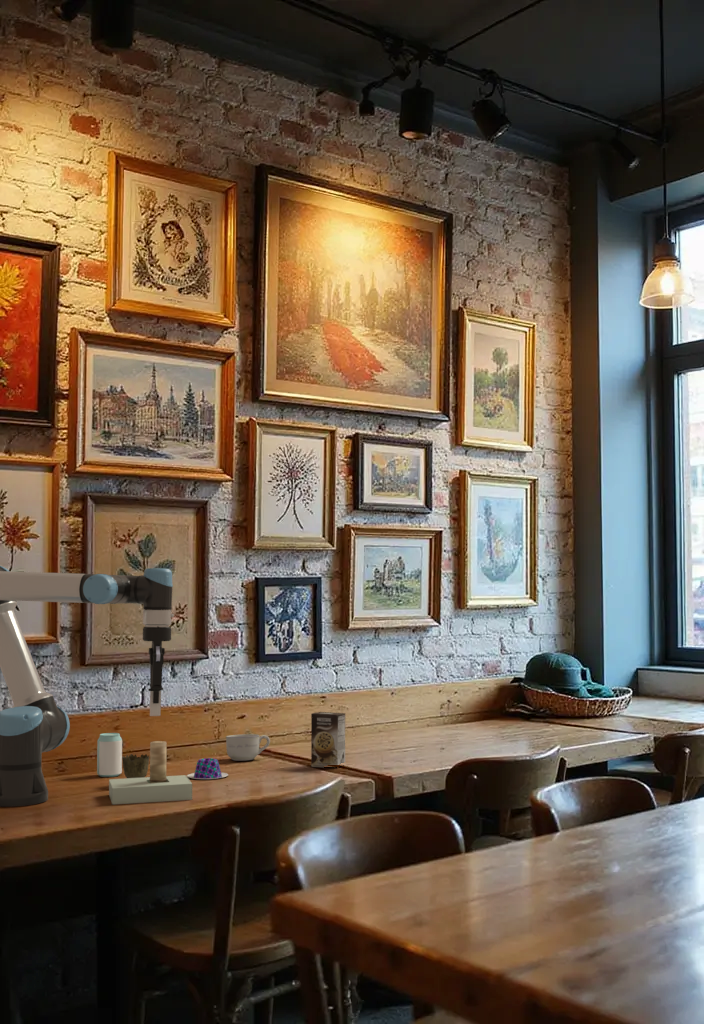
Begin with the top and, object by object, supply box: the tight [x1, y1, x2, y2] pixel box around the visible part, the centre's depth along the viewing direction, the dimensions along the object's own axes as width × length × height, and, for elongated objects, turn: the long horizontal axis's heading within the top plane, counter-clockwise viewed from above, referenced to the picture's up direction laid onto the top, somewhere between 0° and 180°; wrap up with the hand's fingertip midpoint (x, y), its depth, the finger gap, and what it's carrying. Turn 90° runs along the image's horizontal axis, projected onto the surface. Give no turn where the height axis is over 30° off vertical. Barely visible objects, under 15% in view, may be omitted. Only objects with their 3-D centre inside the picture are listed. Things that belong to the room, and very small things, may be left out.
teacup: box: [225, 733, 271, 762], centre depth 339 cm, size 14×11×8 cm
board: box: [108, 774, 193, 805], centre depth 276 cm, size 20×14×4 cm
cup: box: [122, 753, 150, 778], centre depth 295 cm, size 8×7×8 cm
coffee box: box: [310, 711, 346, 768], centre depth 325 cm, size 9×6×16 cm
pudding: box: [186, 757, 229, 780], centre depth 307 cm, size 12×12×5 cm
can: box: [96, 732, 123, 778], centre depth 311 cm, size 7×7×12 cm
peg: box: [149, 740, 168, 783], centre depth 277 cm, size 4×4×14 cm
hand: (155, 715), depth 281 cm, fingers closed
